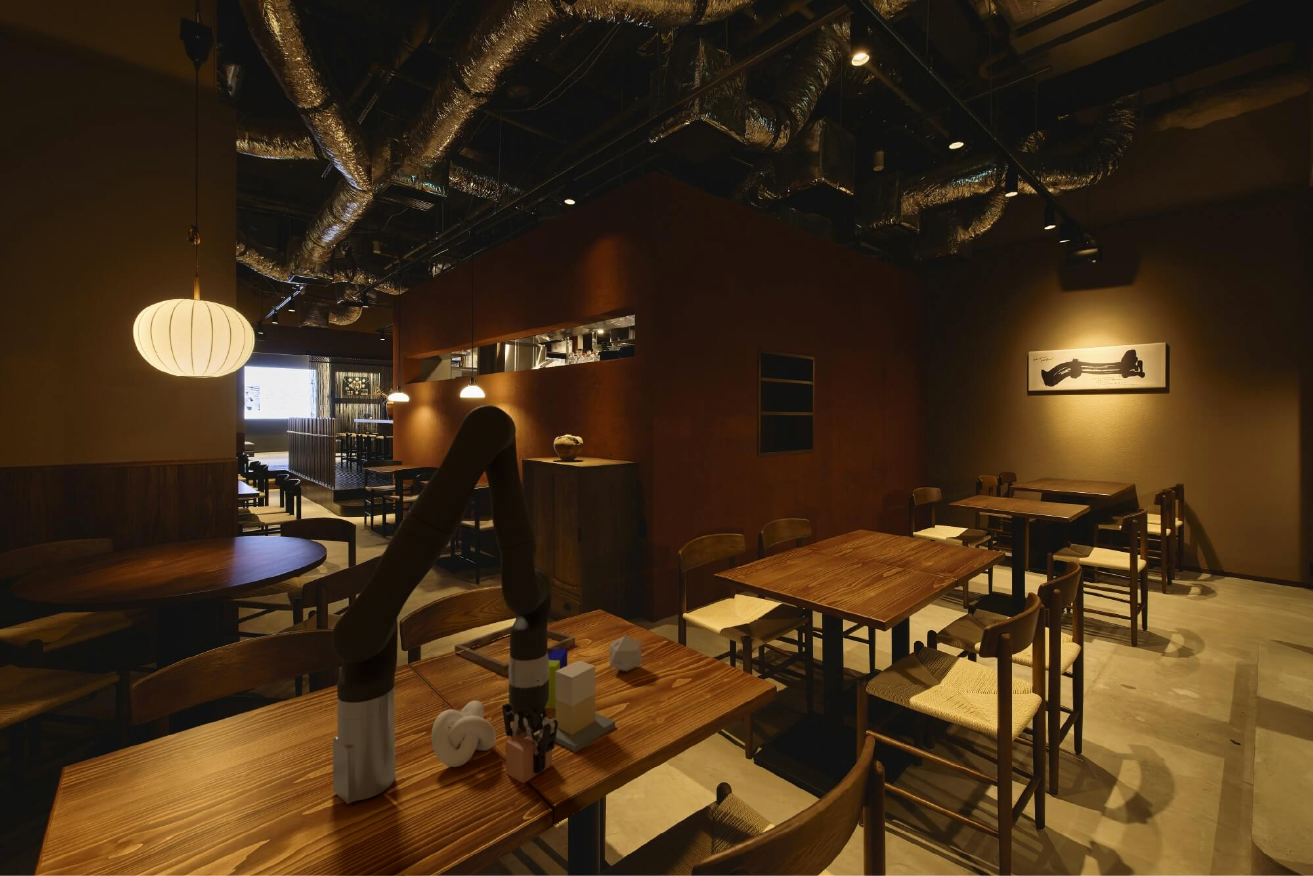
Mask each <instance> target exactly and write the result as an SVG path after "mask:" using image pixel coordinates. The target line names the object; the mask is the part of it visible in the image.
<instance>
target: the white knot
mask: <svg viewBox="0 0 1313 876" xmlns="http://www.w3.org/2000/svg"><path fill="white" fill-rule="evenodd" d="M484 715H485V709H484V706H483V703H482V702H481V701H479V700H472V701H469V702H467V704H466V705H465V706H464V707H463V708H462V709H461V711H459V710H455V709H451V708H450V709H447V710H445V711H442V712H441V713H439V714H438V716H436V719H435V721H434V722H433V725H432V729H431V744H432V748H433V751H434V753H435V755H436V757H437V759H438V760H439V761H440V762H441V763H442V764H444V765H445V766H448V767H452V768H453V767H454V768H456V767H461V766H463V765H465V764H466V763H467V762H468V761H470V759H471V758H472V757H473V754H474V753H475V751H476V750H478V751H488V750H490V749H492V748H493V746H494V744H495V743H496V740H497V733H496V731H495V729H494V726H493V725H492V724H491V723H490V722H489V721H488V720H486V719H485V718H484ZM449 727H450V729H449Z"/></svg>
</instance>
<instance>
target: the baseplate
mask: <svg viewBox="0 0 1313 876" xmlns="http://www.w3.org/2000/svg"><path fill="white" fill-rule="evenodd" d="M595 717H596V721H594V722H593V723H591V724H589V725H588V726H586V727H584V728H583V729H581V730H580V731H578V732H576V733H575V734H573V735H571V734H569V733H567V732H565V731H563V730H561V729H558V728H557V733H556V739H555V744H557V745H559V746H562V747H564V748H565V749H567V750H570V751H572V752H573V753H577V752H578V751H579V750H581V749H582V748H584V747H586V746H587V745H588V744H590V743H592V742H594V741H595V740H597V739H598V738H600V737H601V736H603V735H604V734H605V733H607V732H609V731H611V730H612V729H614V728H615V727H616V721H615V720H614V719H611V718H609V717H607V716H604V715H602V714H599V713H597V712H595ZM549 719H550V720H551V721H553V720H556V715H555V716H553V717H551V718H549Z"/></svg>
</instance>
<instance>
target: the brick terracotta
mask: <svg viewBox="0 0 1313 876" xmlns="http://www.w3.org/2000/svg"><path fill="white" fill-rule="evenodd" d="M539 732H540V730H539V731H537V732H536V733H534V735H536V734H538V733H539ZM539 745H541V740H540V739H539V740H538V746H539ZM533 754H534V751H533V745H532V743H531V742H529V739H528V735H527V732H522V733H521V734H519V736H515V737H513V738H512V737H510V738H509V739H508V740H506V741H505V774H506V775H508V776H510V777H512V778H513V779H514V780H516V781H518V782H520V783H521V784H525V783H526V782H528V781H529V780H531V779H532V778H534V777H536V776H537V775H539V774H540V773H542V772H543V771H545V770H546V769H549V768H550V767H551V766H552V765H553V750H550V751H549V752H547V753H546V760H545V761H546V762H545V763H546V766H545V768H544V770H543V771H541V772H539V773H538V774H536V773H534V772H533Z"/></svg>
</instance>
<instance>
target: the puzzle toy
mask: <svg viewBox="0 0 1313 876" xmlns="http://www.w3.org/2000/svg"><path fill="white" fill-rule="evenodd" d="M548 660H549V700H548V702H547V704H546V706H545V709H554V710H556V676H555V671H557V670H559V669H561V668H564V667H566V666H568V649H564V650H563V649H548Z"/></svg>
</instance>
